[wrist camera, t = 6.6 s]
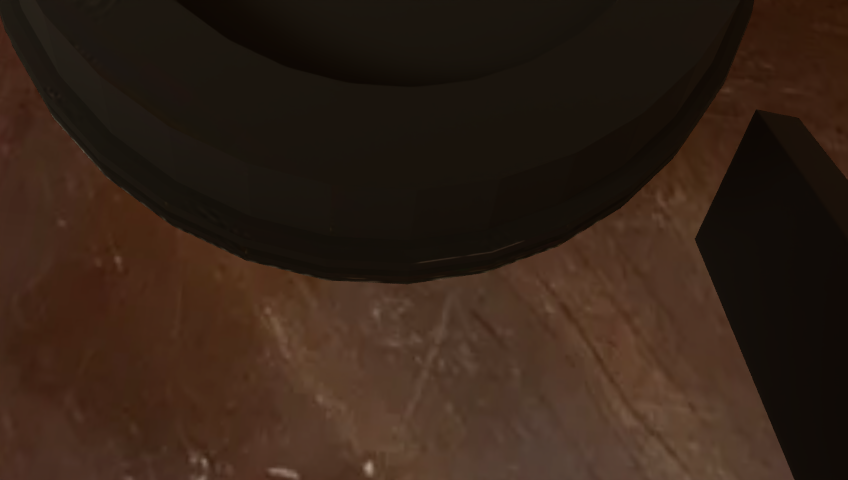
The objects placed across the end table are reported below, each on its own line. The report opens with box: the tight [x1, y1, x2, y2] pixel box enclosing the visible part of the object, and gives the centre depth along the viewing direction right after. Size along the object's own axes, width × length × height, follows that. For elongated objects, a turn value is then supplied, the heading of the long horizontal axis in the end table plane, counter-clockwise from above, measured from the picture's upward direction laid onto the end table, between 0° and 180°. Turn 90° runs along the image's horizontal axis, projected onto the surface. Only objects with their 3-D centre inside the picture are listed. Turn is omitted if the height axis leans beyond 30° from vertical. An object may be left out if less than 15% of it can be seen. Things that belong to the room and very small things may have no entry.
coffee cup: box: [0, 0, 754, 284], centre depth 16 cm, size 10×10×15 cm
